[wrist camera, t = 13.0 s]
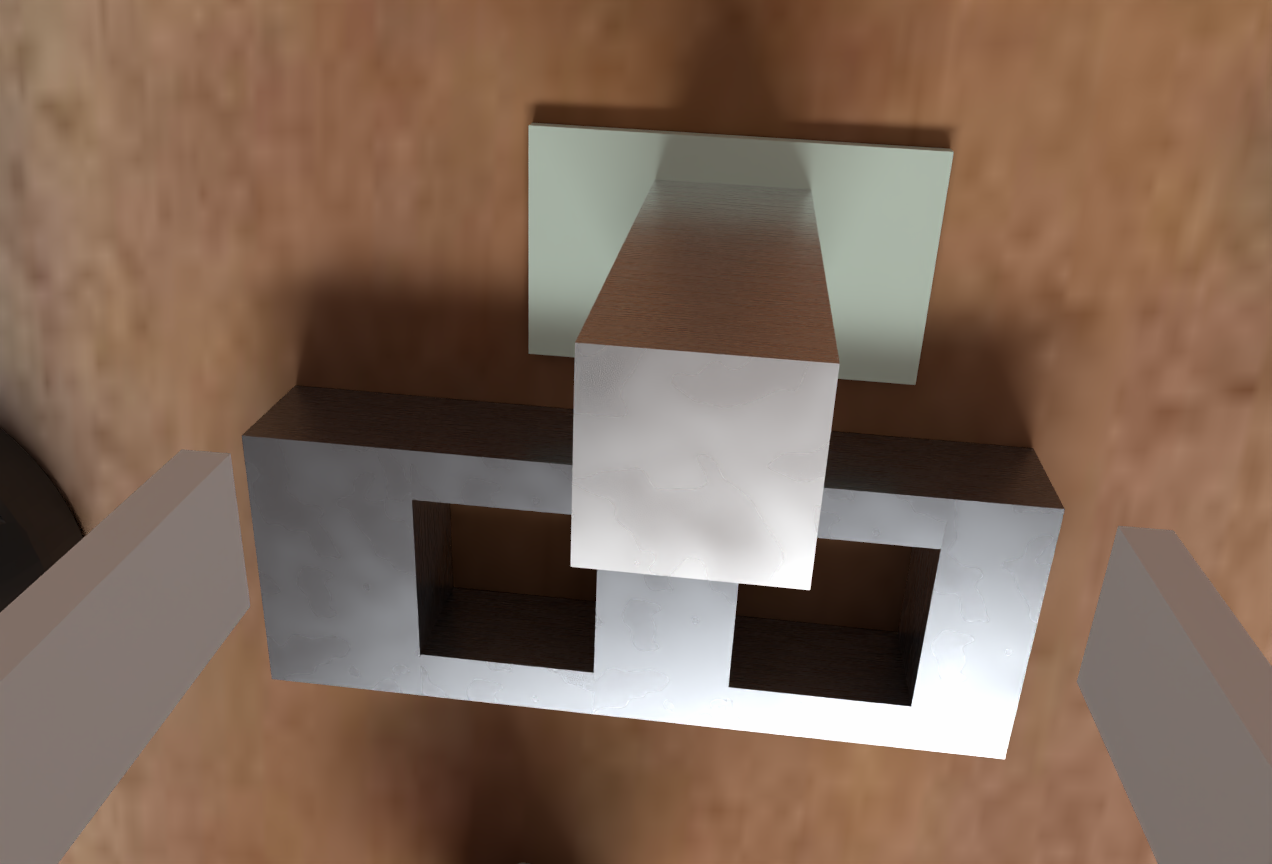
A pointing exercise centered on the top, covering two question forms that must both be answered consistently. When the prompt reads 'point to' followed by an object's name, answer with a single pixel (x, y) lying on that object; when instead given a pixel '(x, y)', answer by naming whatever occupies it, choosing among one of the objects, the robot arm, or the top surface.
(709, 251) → the steel peg
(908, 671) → the grey hollow block
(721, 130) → the top surface
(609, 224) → the green pad
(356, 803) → the top surface
